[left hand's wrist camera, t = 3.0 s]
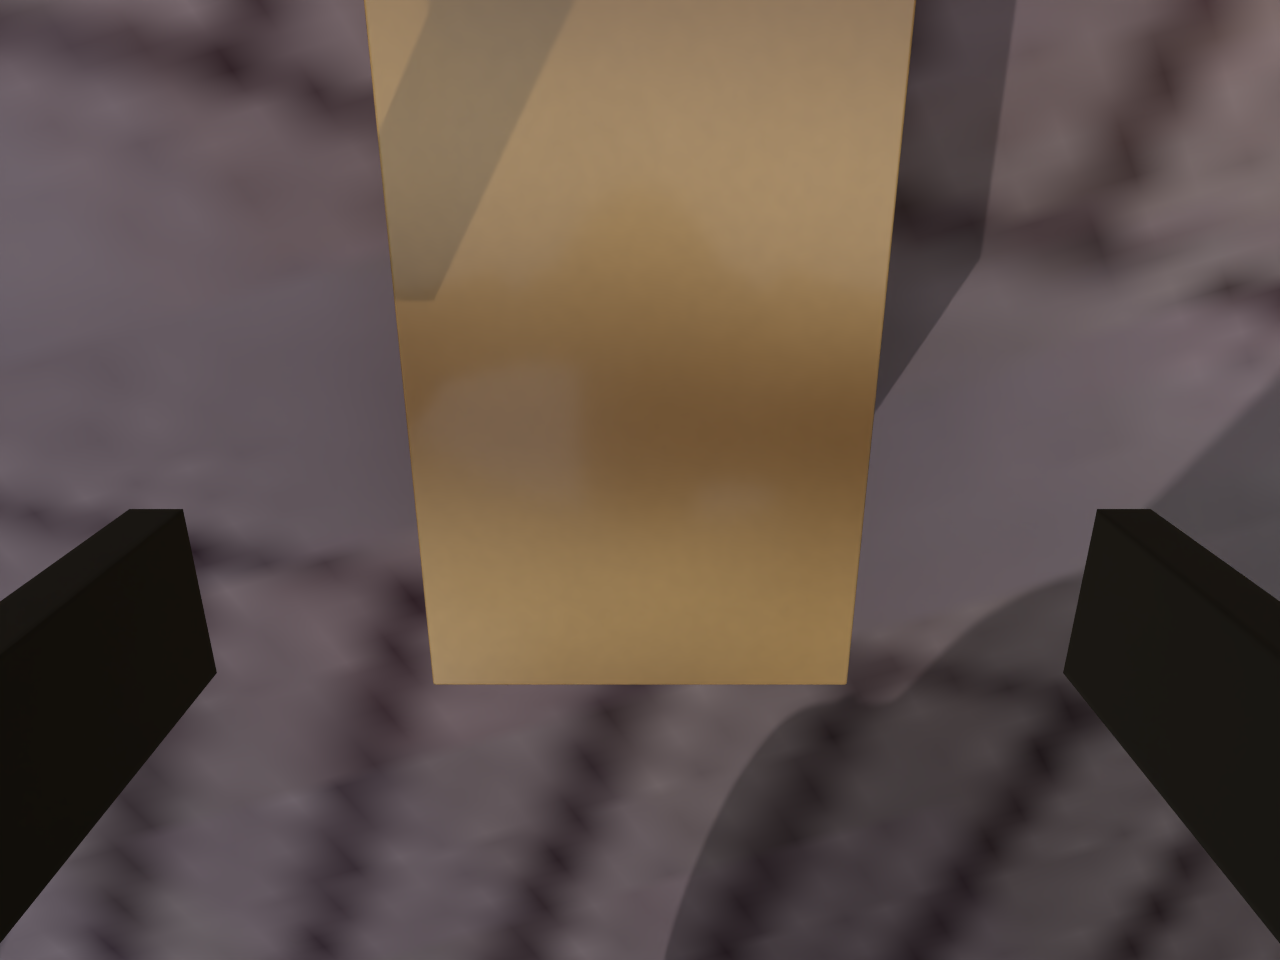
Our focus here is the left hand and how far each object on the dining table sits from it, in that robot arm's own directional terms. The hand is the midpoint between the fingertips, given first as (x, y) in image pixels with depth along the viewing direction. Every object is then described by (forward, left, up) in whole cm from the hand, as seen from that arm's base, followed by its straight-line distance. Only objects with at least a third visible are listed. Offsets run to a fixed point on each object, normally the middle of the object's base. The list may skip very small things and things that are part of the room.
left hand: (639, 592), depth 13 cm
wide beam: (+29, 0, -12) cm, 31 cm away
